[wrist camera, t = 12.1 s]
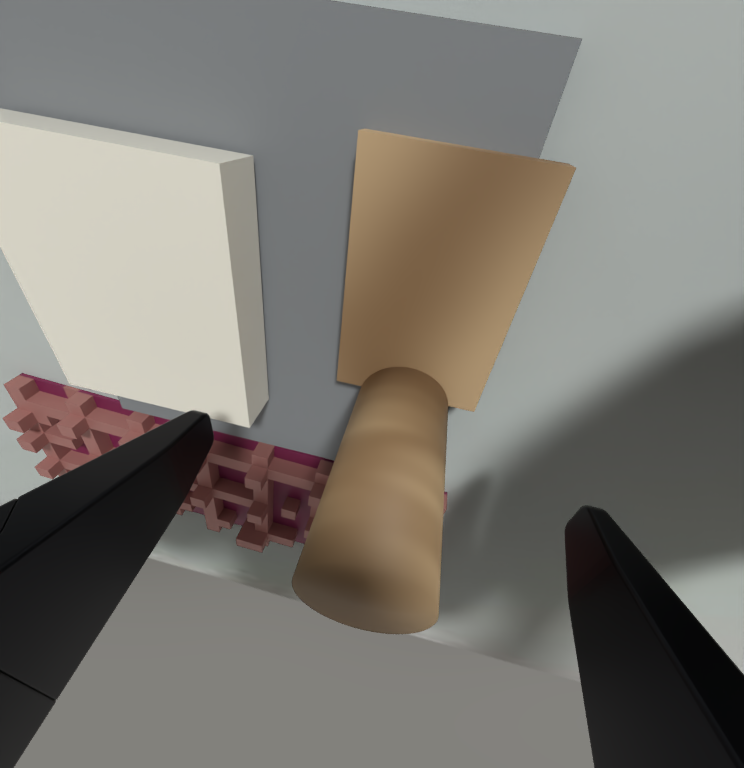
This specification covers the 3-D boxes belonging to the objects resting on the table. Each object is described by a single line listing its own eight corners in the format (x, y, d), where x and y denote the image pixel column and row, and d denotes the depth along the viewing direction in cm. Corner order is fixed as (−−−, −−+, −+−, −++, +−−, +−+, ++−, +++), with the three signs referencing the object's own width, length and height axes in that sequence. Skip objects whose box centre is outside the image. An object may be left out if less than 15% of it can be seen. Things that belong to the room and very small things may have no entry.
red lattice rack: (19, 362, 16) (-29, 390, 14) (447, 481, 15) (446, 524, 13) (75, 465, 20) (43, 494, 19) (405, 560, 19) (401, 599, 18)
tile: (219, 163, 7) (-71, 108, 7) (249, 427, 11) (69, 384, 11) (256, 154, 8) (7, 108, 8) (270, 396, 12) (107, 357, 13)
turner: (568, 164, 7) (790, 285, 2) (458, 435, 12) (456, 655, 7) (364, 128, 7) (186, 170, 3) (338, 407, 12) (258, 601, 7)
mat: (573, 43, 6) (582, 38, 6) (423, 469, 14) (422, 481, 13) (-37, -51, 7) (-71, -61, 7) (133, 398, 15) (122, 408, 14)
